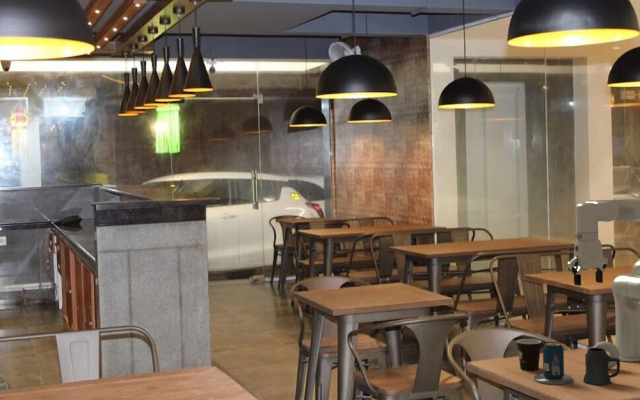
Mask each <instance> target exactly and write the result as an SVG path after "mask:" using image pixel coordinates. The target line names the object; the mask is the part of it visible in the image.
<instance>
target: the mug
mask: <svg viewBox="0 0 640 400" xmlns="http://www.w3.org/2000/svg"><path fill="white" fill-rule="evenodd" d="M584 355H585V356H584V357H585V358H584V361H585V373H584V376H583V379H582V380H583V381H582V382H583V384H586V385H590V386H608V385H610V384H612V381H611V379H613V378H615V377H617V376H618V375H619V373H620V370H621V361H620V359H619V358H613V357H610V354H609V353H608V352H607V351H605V349H603V348H593V347H590V348H589V347H588V349H587V351H586V353H585V354H584ZM609 361H610V362H612V361H616V362H617V365H616V370H615V372H613V373H612V374H609V369H608V364H609Z"/></svg>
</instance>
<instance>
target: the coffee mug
mask: <svg viewBox="0 0 640 400" xmlns="http://www.w3.org/2000/svg"><path fill="white" fill-rule="evenodd" d="M541 345H542V341H541V340H539V339H535V338H521V339H520V338H519V339H518V340H516V346H517V353H518V360H519V367H520V369H521V370H522V371H526V372H527V371H528V372H530V371H531V372H533V371H534V372H535V371H538V370H539V368H540V367H539V365H540V357H541V347H542V346H541Z"/></svg>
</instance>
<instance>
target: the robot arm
mask: <svg viewBox="0 0 640 400" xmlns="http://www.w3.org/2000/svg"><path fill="white" fill-rule="evenodd" d="M575 215H576V217H575V218H576V219H575V222H576V223H575V224H576V227H575V228H576V234H575V235H574V238H575V239H576V241H575V243H574V249H573V258H572V259H570V260H569V261H568V262H567V266H568V268H569V271H570V272H571V273H572V274H573V284H574V286H580V287H581V286H582V274H580V273H581V272H582V270H591V269H595V274H594V275H595V282H596V283H598V284H599V283H600V284H602V283H604V275H603V273H604V272H605V269H606V267H607V264H608V263H609V259H608V258H607V257H605V256H604V251H603V246H602V241H601V240H600V239H599V222H603V223H605V222H607V223H609V222H612V221H616V222H624V223H625V222H628V223H635V222H636V223H637V222H640V198H625V199H624V198H623V199H620V198H619V199H603V200H602V199H595V200H594V199H590V200H586V201H584V202H580V203H577V204H576V206H575ZM631 272H632V274H631V273H622V274H618V275H617V276H615V278H614V279H613V280H612V284H611V288H612V295H613V299H614V306H615V311H614V312H615V346H616V347H617V349H618V350H619V353H620V362H631V363H633V362H635V363H636V362H640V258H638V259H637V260H636V261H635V263H634V264H633V266H632V268H631Z"/></svg>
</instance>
